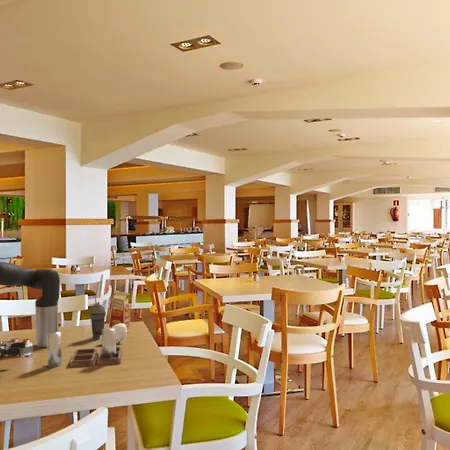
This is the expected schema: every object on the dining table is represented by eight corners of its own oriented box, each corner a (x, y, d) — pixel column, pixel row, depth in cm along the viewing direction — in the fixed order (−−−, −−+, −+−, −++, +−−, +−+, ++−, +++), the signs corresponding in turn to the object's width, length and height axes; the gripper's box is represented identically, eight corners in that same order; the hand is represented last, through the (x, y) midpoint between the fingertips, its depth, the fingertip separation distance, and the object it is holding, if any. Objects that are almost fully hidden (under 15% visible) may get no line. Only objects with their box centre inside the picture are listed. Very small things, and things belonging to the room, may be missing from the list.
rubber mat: (44, 365, 181) (44, 363, 181) (69, 363, 183) (69, 361, 183) (39, 372, 172) (39, 370, 172) (65, 370, 174) (65, 368, 174)
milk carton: (108, 333, 235) (107, 291, 235) (115, 328, 244) (115, 289, 244) (126, 333, 233) (125, 291, 233) (133, 329, 242) (132, 289, 242)
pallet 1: (75, 357, 192) (75, 349, 192) (97, 355, 193) (97, 348, 193) (69, 369, 174) (69, 361, 174) (94, 368, 176) (93, 359, 176)
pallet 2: (100, 355, 193) (100, 347, 193) (122, 353, 195) (122, 346, 195) (96, 368, 176) (96, 359, 176) (121, 366, 178) (120, 358, 178)
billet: (100, 361, 181) (99, 329, 181) (112, 358, 185) (111, 327, 185) (106, 363, 178) (105, 331, 178) (118, 361, 181) (118, 329, 181)
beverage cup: (102, 340, 220) (101, 296, 220) (87, 339, 221) (86, 295, 221) (108, 336, 227) (108, 293, 227) (94, 336, 228) (93, 293, 228)
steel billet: (45, 365, 178) (44, 332, 178) (58, 362, 181) (58, 330, 181) (50, 368, 174) (49, 335, 174) (64, 365, 177) (63, 332, 177)
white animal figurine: (126, 324, 211) (98, 329, 208) (129, 343, 212) (100, 348, 208) (125, 321, 217) (97, 326, 214) (127, 340, 218) (100, 345, 214)
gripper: (-33, 345, 166) (17, 342, 169) (-20, 336, 180) (26, 333, 183) (-33, 367, 166) (18, 363, 169) (-19, 356, 180) (27, 353, 183)
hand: (22, 347), depth 176 cm, fingers open, 8 cm apart
